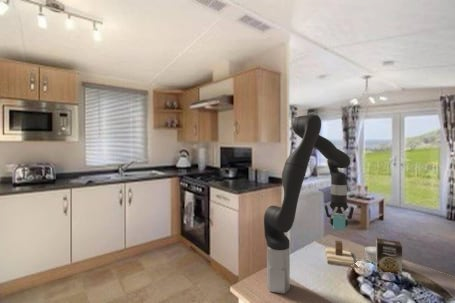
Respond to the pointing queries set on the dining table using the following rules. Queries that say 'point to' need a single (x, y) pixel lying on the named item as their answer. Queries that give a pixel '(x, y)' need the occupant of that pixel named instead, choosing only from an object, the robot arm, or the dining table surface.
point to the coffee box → (388, 256)
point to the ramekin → (371, 254)
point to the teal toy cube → (339, 222)
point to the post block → (339, 255)
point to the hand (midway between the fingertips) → (338, 225)
